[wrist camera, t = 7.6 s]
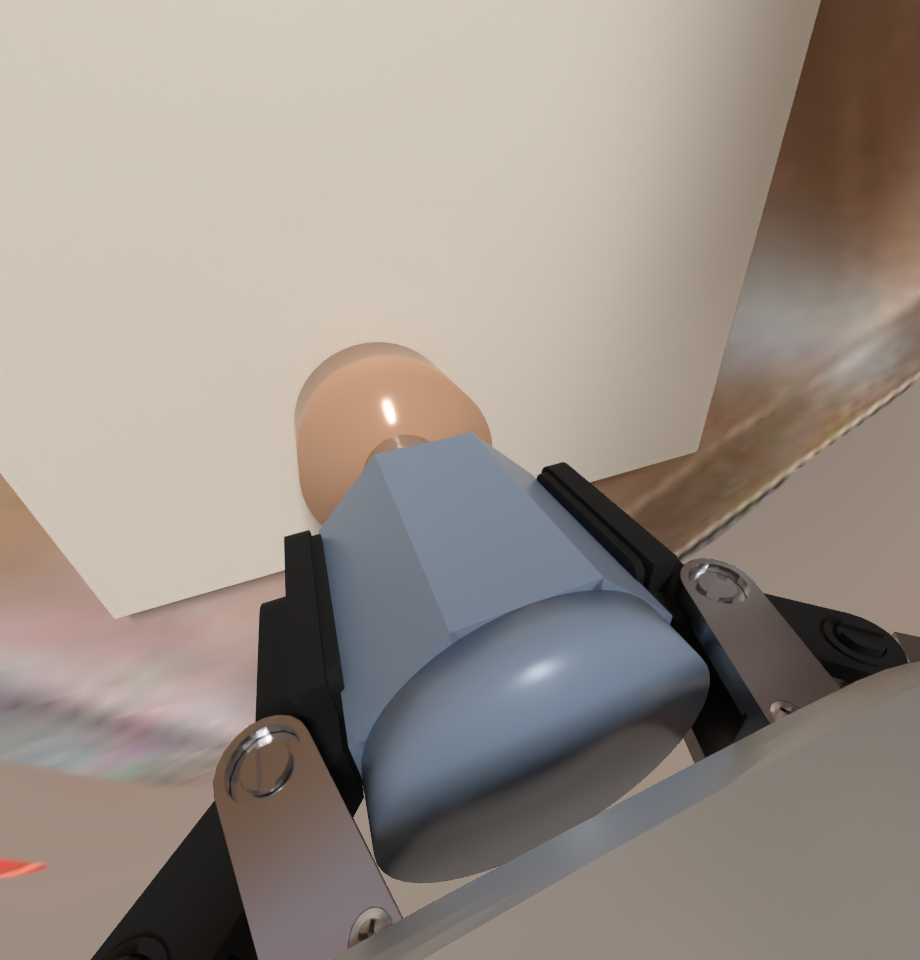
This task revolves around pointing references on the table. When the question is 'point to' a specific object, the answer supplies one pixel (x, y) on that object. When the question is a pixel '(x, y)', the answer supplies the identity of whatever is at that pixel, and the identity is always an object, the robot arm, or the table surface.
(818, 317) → the table surface
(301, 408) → the round stamp handle
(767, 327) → the table surface
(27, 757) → the table surface
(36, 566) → the table surface
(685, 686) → the cap
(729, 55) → the board
